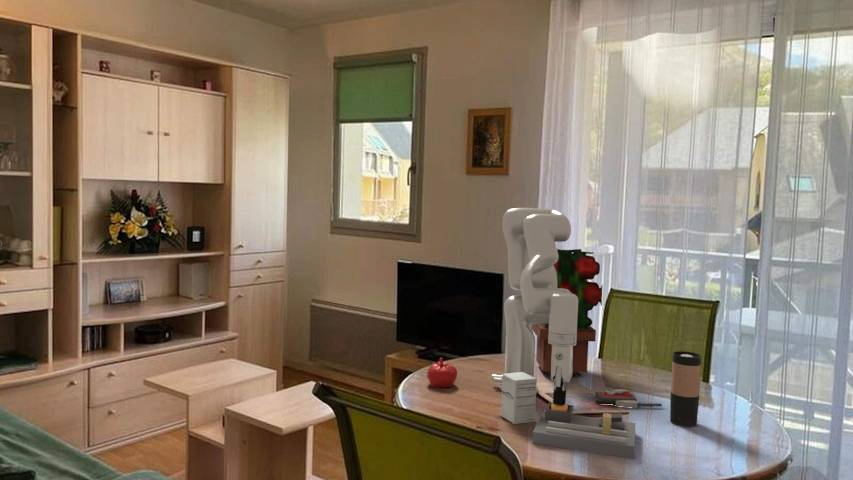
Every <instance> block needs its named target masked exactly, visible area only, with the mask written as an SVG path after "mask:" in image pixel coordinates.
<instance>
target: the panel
mask: <svg viewBox="0 0 853 480" xmlns="http://www.w3.org/2000/svg"><path fill="white" fill-rule="evenodd" d="M552 403H553V402H548V403H547V405H546V407H545V409H544V410H542V413H541V414H540V416H539V419H538V420H537V422H536V424H535V426H534V429H533V430H532V441H531V442H532V443H531V444H534V445H541V446H548V447H553V448H561V449H568V450H573V451H574V450H575V451H581V452H588V453H594V454H595V453H596V454H603V455H608V456H609V455H610V456H614V455H615V456H616V457H622V458H628V459H629V458H630V459H634V458H635V443H636V422H632V421H631V422H630V421H623V420H622V422H611V435H603V434H602V426H603V422H602V417H592V416H586V415H580V414H579V415H577V414H574V405H573V404H567V405H568V412H567V411H560V410H552V409H551V404H552Z"/></svg>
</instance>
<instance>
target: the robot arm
mask: <svg viewBox="0 0 853 480" xmlns="http://www.w3.org/2000/svg"><path fill="white" fill-rule="evenodd" d="M502 232H503V236H504V239H505V242H506V246H507V247H506V248H507V267H508V269H507V270H508V271H507V272H508V273H507V274H508V275H507V276H508V285H509V287H510V288H511V289H512V290H516V291H520V294H515V295H510V296H509V297H508V298H506V300H504V304H503V305H504V306H503V309H504V317H505V319H504V321H505V352H504V353H505V355H504V374H506V373H516V372H524V373H526V374H528V375H530V376H532V377H534V376H535V357H536V356H535V352H536V337H535V333H534V332H533V330H532V329H530V327H529V325H532V324H549V335H548V343H549V344H552V357H551V375H550V380H551V381H552V382H553V383H554V386H553V396H552V399H553V400H552V403H553V404H557V405H565V404H567V403H566V402H567V401H566V400H567V398H566V397H567V389H566V388H567V387H566V386H567V384H568V383H570V381H571V379H572V377H573V376H572V362H573V346H575V345H576V337H577V316H578V297H577V296H576V295H575V294H572V293H571V292H570V291H569V290H568V289H564V288H558V282H557V273H556V269H555V267H554V266H553V265H554V264H555V263H556V262H557V261H558V257H559V256H558V252H557V249H558V248H557V245H556V244H557V242H558V243H560V242H567V241H568V240H569V239H570V237H571V234H572V226H571V222H570V220H569V218H568V217H567V216H566V215H565V214H564V213H561V212H560V211H558V210H556V209H552V208H540V207H539V208H536V207H535V208H533V207H515V208H510V209H507V210H506V212H505V213H504V214H503V216H502ZM502 377H503V374H501V375H498V374H492V375H491V381H493V383H500V384H499V387H498V388H499V390H500V391H501V392H502ZM534 378H535V377H534ZM538 392H539V387H538V386H537V385H536V394H537V393H538Z"/></svg>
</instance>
